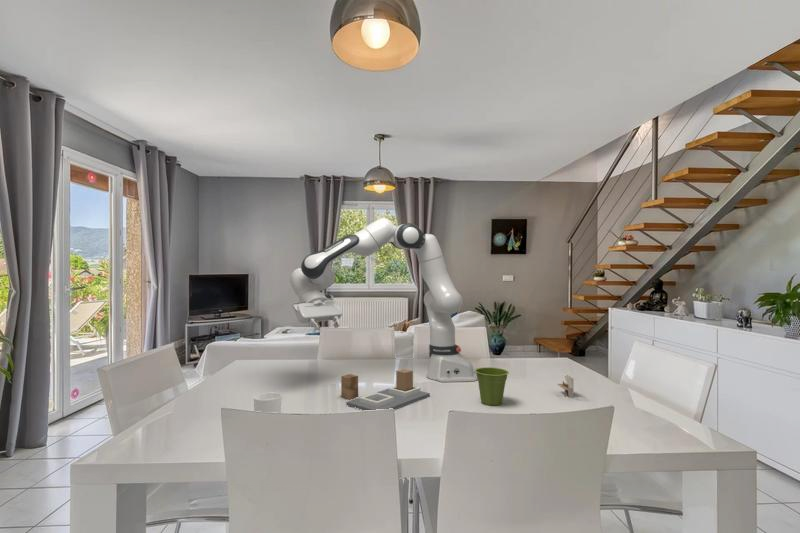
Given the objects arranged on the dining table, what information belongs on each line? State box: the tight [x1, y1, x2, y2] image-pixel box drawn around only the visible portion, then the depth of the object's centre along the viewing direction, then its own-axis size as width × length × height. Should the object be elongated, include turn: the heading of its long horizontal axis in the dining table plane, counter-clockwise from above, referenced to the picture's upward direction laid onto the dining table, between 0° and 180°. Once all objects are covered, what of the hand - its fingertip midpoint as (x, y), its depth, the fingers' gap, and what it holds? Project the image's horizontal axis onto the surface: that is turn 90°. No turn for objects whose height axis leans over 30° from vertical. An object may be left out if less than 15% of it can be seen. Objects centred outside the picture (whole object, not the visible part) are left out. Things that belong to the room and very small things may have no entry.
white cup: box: [253, 391, 283, 414], centre depth 123 cm, size 8×8×10 cm
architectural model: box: [556, 374, 575, 399], centre depth 157 cm, size 3×7×7 cm, turn 0°
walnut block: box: [340, 373, 359, 401], centre depth 155 cm, size 4×4×8 cm
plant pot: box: [474, 366, 510, 406], centre depth 148 cm, size 12×12×11 cm
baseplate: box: [345, 368, 431, 411], centre depth 151 cm, size 27×16×9 cm, turn 139°
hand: (328, 327), depth 163 cm, fingers open, 8 cm apart
